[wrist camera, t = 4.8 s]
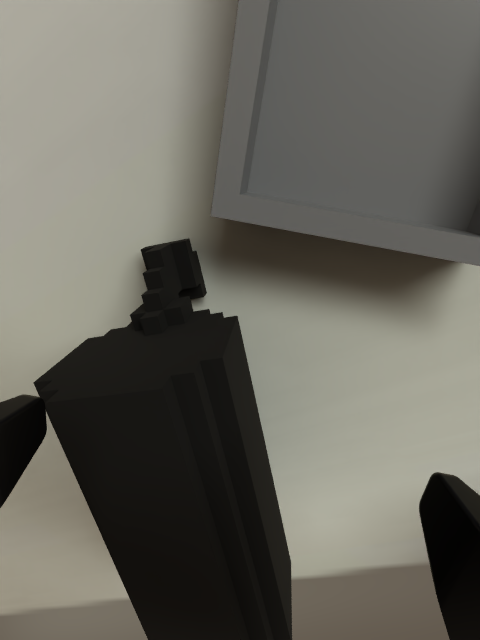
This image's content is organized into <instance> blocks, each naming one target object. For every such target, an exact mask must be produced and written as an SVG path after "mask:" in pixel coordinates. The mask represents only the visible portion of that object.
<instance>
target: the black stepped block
mask: <svg viewBox="0 0 480 640" xmlns="http://www.w3.org/2000/svg"><path fill="white" fill-rule="evenodd" d="M141 252H142V256H143V259H144V262H145V266H146V269H147V271H146V272H144V273H143V276H144V279H145V283H146V286H147V291H146V292H145V293H144V294H143V295H141V296H142V299H143V303H144V304H142V305H141V306H140V307H139V308H137V309H136V310H135V311H134V312H133V313H132V314H131V315H130V317H131V320H132V322H131V323H130V324H129V325H128V326H127V327H124V328H118V329H111V330H110V331H109V332H108V333H107V334H105V335H104V336H101V337H94V338H88V339H87V340H85V341H84V342H83V343H82V344H81V345H79V346H78V347H77V348H76V349H74V350H73V351H72V352H71V353H69V354H68V355H67V356H66V357H65V358H63V359H62V360H61V361H60V362H58V363H57V364H56V365H55V366H53V367H52V368H51V369H50V370H48V371H47V372H46V373H45V374H44V375H42V376H41V377H40V378H39V379H37V380H36V381H35V382H34V385H35V387H36V390H37V392H38V394H39V396H40V397H41V398H42V399H43V400H44V402H45V410H46V412H47V414H48V416H49V419H50V421H51V423H52V425H53V428H54V430H55V432H56V434H57V437H58V439H59V441H60V443H61V446H62V448H63V450H64V452H65V454H66V457H67V459H68V461H69V463H70V466H71V468H72V470H73V472H74V475H75V477H76V479H77V481H78V484H79V486H80V488H81V490H82V493H83V495H84V497H85V499H86V502H87V504H88V506H89V508H90V510H91V513H92V515H93V517H94V519H95V522H96V524H97V526H98V528H99V531H100V533H101V535H102V537H103V540H104V542H105V544H106V546H107V549H108V551H109V553H110V555H111V558H112V560H113V562H114V564H115V566H116V569H117V571H118V573H119V575H120V578H121V580H122V582H123V584H124V587H125V589H126V591H127V593H128V596H129V598H130V600H131V602H132V605H133V607H134V609H135V611H136V613H137V616H138V618H139V620H140V622H141V625H142V627H143V629H144V631H145V634H146V636H147V638H148V640H292V613H291V612H292V610H291V608H292V607H291V560H290V556H289V551H288V546H287V542H286V537H285V533H284V528H283V523H282V519H281V514H280V510H279V505H278V500H277V496H276V491H275V487H274V482H273V477H272V473H271V468H270V464H269V459H268V454H267V450H266V445H265V441H264V436H263V431H262V427H261V422H260V418H259V413H258V408H257V404H256V399H255V395H254V390H253V385H252V381H251V376H250V372H249V367H248V362H247V358H246V353H245V349H244V344H243V339H242V335H241V330H240V326H239V321H238V316H233V317H226V318H224V316H223V312H221V313H215V314H210V310H209V309H207V310H201V311H194V312H193V308H192V304H191V300H190V299H193V298H199V297H204V296H205V294H206V293H207V292H206V288H205V284H204V280H203V276H202V271H201V267H200V263H199V259H198V255H197V251H192V247H191V243H190V239H184V240H179V241H174V242H168V243H163V244H158V245H153V246H148V247H145V248H143V249H141Z"/></svg>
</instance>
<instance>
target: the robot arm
mask: <svg viewBox="0 0 480 640" xmlns="http://www.w3.org/2000/svg"><path fill="white" fill-rule="evenodd" d="M46 430H47V424H46V410H45V402H44V400H43V399H42V398H41V397H36V396H31V395H20V396H17V397H15V398H12V399H9V400H6V401H3V402H0V508H1V506H2V505H3V504H4V502H5V501H6V499H7V498H8V496H9V494H10V493H11V491H12V490H13V488H14V486H15V485H16V483H17V482H18V480H19V478H20V477H21V475H22V474H23V472H24V470H25V469H26V467H27V465H28V464H29V462H30V461H31V459H32V457H33V456H34V454H35V453H36V451H37V449H38V448H39V446H40V444H41V443H42V441H43V439H44V437H45V435H46ZM419 512H420V518H421V523H422V528H423V533H424V538H425V543H426V548H427V553H428V558H429V562H430V567H431V572H432V577H433V582H434V586H435V590H436V595H437V598H438V602H439V605H440V609H441V612H442V616H443V619H444V622H445V625H446V629H447V632H448V635H449V639H450V640H480V495H478V494H477V493H476V492H475V491H474V490H472V489H471V488H470V487H469V486H468V485H466V484H465V483H464V482H463V481H462V480H460V479H459V478H458V477H456V476H454V475H450V474H444V473H439V472H436V473H433V474H432V475H431V477H430V479H429V482H428V484H427V486H426V488H425V491H424V493H423V495H422V498H421V500H420V504H419Z"/></svg>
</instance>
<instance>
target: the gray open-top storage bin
mask: <svg viewBox="0 0 480 640" xmlns="http://www.w3.org/2000/svg"><path fill="white" fill-rule="evenodd" d="M211 216H213V217H218V218H224V219H229V220H234V221H240V222H245V223H251V224H256V225H261V226H267V227H272V228H278V229H283V230H288V231H294V232H299V233H305V234H310V235H315V236H321V237H326V238H331V239H337V240H342V241H348V242H353V243H358V244H364V245H369V246H375V247H380V248H385V249H391V250H396V251H402V252H407V253H412V254H418V255H423V256H428V257H434V258H439V259H445V260H450V261H455V262H461V263H466V264H472V265H477V266H480V0H239V2H238V10H237V18H236V25H235V33H234V41H233V48H232V56H231V64H230V71H229V79H228V87H227V94H226V102H225V110H224V117H223V125H222V133H221V140H220V148H219V155H218V163H217V171H216V178H215V186H214V194H213V201H212V209H211Z"/></svg>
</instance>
